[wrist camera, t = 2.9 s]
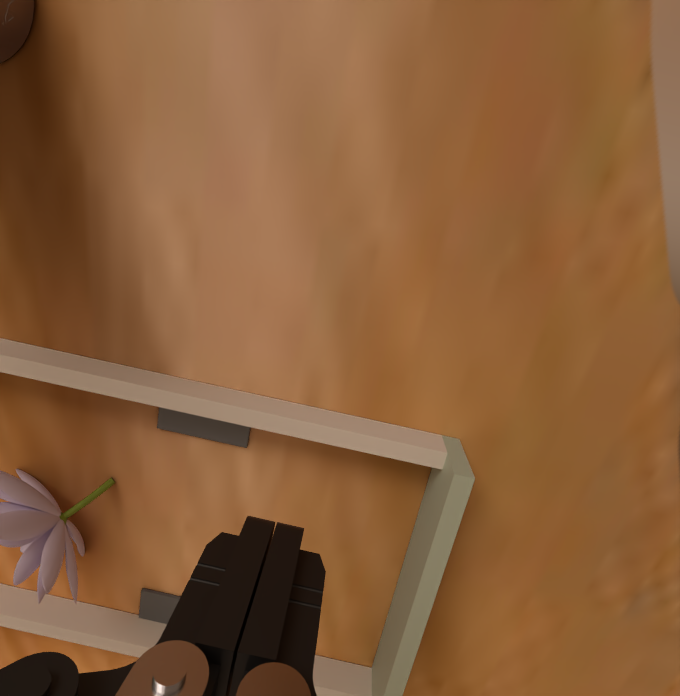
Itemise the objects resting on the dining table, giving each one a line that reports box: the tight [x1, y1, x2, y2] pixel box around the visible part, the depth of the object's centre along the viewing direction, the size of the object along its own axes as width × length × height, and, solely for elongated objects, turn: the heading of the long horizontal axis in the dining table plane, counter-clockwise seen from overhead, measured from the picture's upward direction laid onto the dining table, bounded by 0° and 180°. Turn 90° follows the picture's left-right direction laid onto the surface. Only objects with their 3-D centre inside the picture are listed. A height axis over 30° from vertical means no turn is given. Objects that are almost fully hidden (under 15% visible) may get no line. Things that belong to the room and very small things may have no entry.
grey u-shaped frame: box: [0, 338, 475, 696], centre depth 38 cm, size 44×28×6 cm, turn 78°
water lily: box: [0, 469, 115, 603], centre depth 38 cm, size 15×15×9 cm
